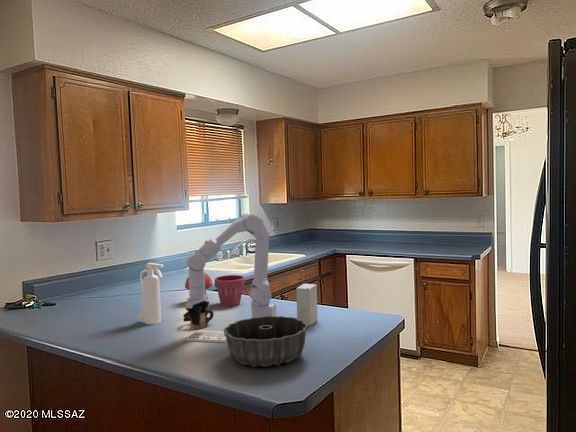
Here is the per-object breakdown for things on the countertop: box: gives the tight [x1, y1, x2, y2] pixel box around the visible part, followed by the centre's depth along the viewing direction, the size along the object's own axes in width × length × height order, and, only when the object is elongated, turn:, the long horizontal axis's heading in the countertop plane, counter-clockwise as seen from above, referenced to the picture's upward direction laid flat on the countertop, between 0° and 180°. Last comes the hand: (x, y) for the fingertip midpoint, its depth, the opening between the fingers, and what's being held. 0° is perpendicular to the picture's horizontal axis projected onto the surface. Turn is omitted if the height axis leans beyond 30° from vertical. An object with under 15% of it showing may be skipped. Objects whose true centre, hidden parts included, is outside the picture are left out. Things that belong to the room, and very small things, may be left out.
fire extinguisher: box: [137, 262, 165, 325], centre depth 186 cm, size 7×12×25 cm, turn 72°
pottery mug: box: [182, 309, 215, 331], centre depth 179 cm, size 12×10×8 cm
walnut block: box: [190, 313, 206, 330], centre depth 166 cm, size 4×4×5 cm
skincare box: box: [296, 283, 319, 327], centre depth 177 cm, size 8×6×15 cm
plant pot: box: [214, 274, 246, 307], centre depth 213 cm, size 14×14×13 cm
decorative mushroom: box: [184, 272, 214, 294], centre depth 219 cm, size 13×13×15 cm
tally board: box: [185, 329, 227, 344], centre depth 164 cm, size 15×10×1 cm, turn 76°
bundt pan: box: [223, 315, 309, 368], centre depth 141 cm, size 26×26×10 cm
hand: (198, 322), depth 166 cm, fingers closed on walnut block, 4 cm apart
